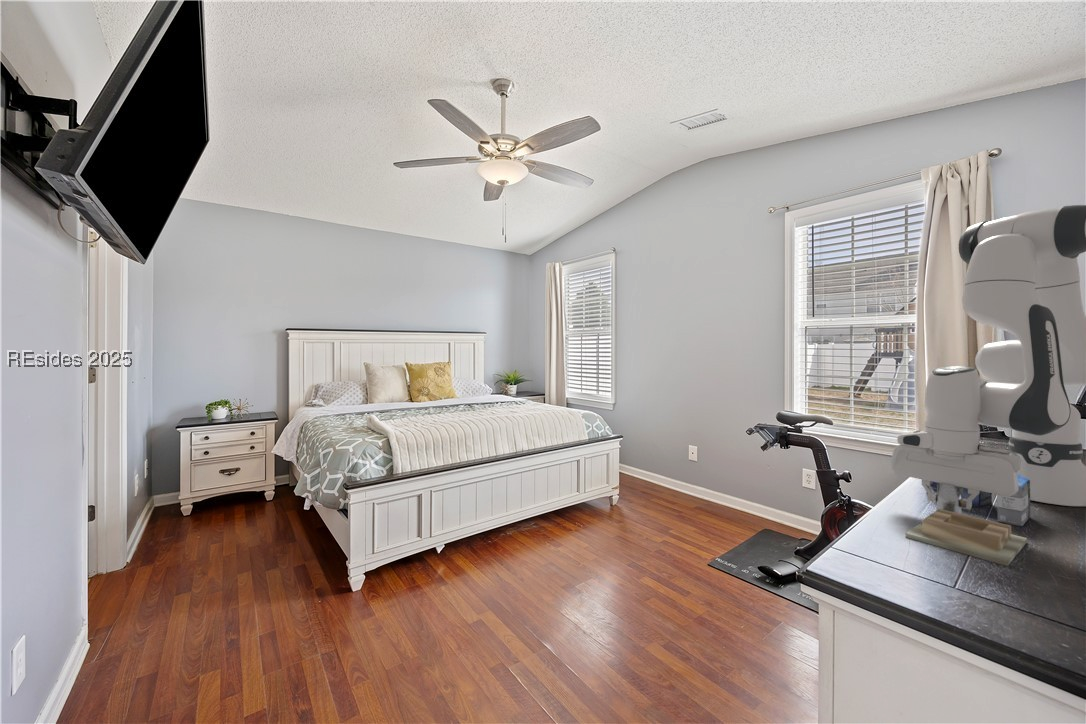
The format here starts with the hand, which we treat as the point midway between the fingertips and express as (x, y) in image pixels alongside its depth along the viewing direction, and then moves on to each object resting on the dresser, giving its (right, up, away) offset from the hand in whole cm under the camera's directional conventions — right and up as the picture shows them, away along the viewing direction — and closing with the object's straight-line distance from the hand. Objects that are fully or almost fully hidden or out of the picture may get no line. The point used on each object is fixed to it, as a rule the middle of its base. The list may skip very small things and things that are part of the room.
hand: (949, 504), depth 96 cm
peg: (0, -3, 0) cm, 3 cm away
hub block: (-6, -4, -10) cm, 12 cm away
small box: (+13, -3, +12) cm, 18 cm away
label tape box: (+14, -3, 0) cm, 14 cm away
